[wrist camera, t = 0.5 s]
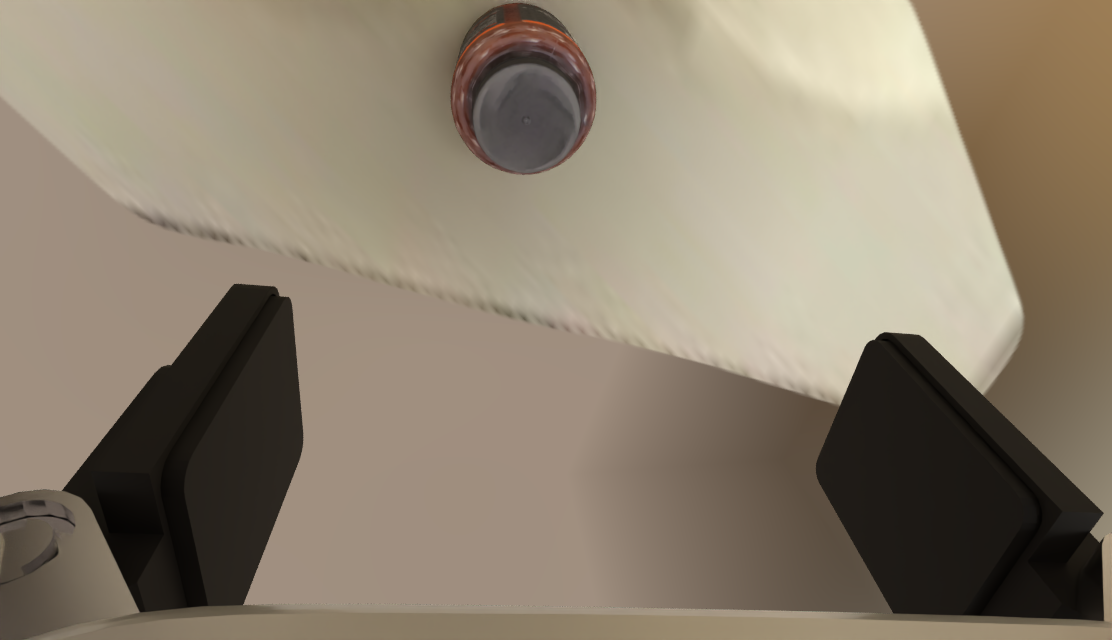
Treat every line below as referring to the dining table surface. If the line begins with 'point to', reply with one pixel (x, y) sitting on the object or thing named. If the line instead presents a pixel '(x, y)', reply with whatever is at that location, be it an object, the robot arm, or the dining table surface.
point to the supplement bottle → (522, 90)
